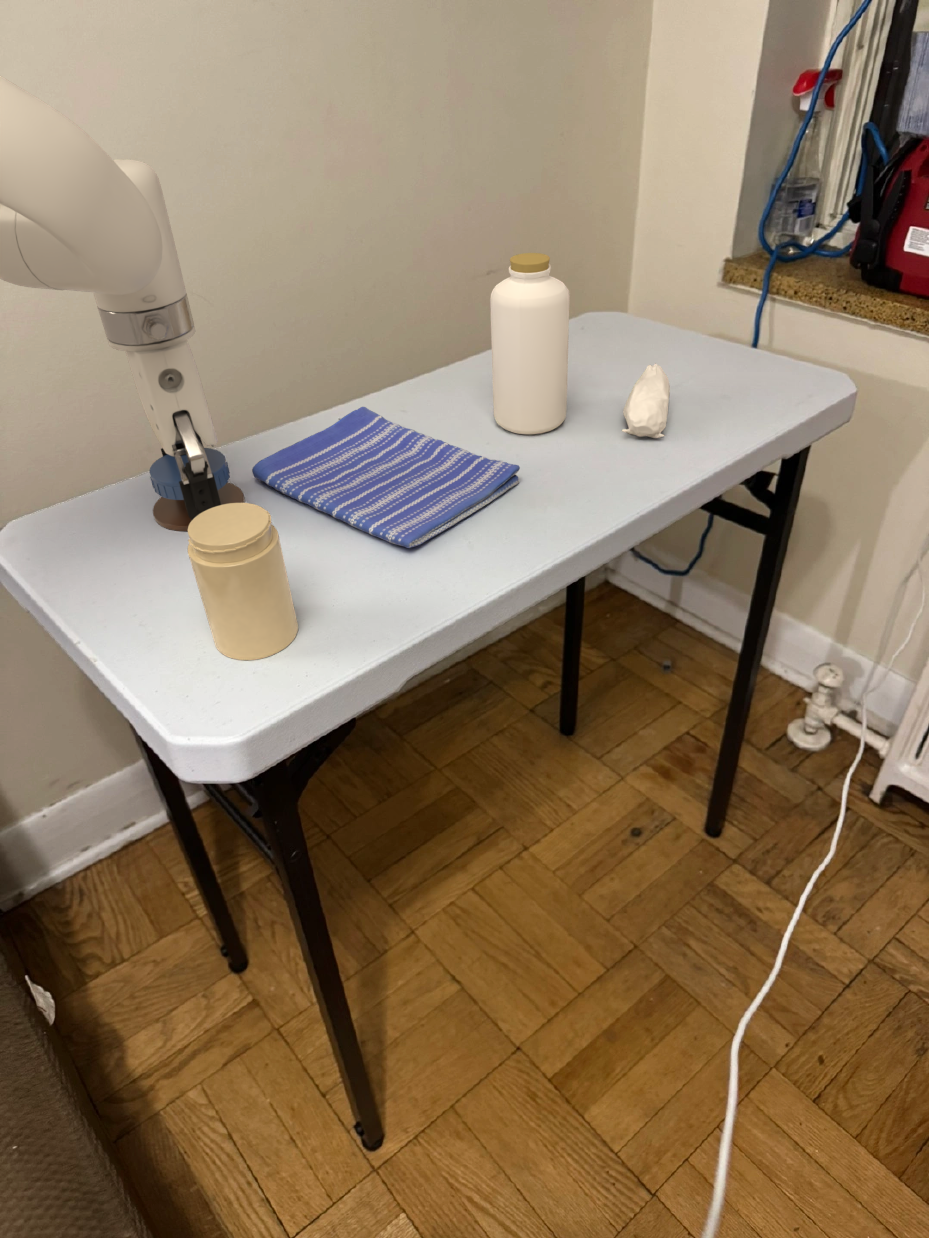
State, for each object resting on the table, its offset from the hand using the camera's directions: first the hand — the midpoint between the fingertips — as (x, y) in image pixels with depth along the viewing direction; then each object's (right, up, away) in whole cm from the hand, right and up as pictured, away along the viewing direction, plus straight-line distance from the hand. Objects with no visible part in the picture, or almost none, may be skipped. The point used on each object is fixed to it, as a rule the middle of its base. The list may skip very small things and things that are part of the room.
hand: (195, 496), depth 87 cm
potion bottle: (+34, +10, +13) cm, 38 cm away
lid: (0, +2, -2) cm, 3 cm away
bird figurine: (+48, +9, +11) cm, 50 cm away
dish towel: (+19, +2, +3) cm, 19 cm away
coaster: (0, -1, +1) cm, 1 cm away
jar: (+10, -13, -16) cm, 23 cm away
